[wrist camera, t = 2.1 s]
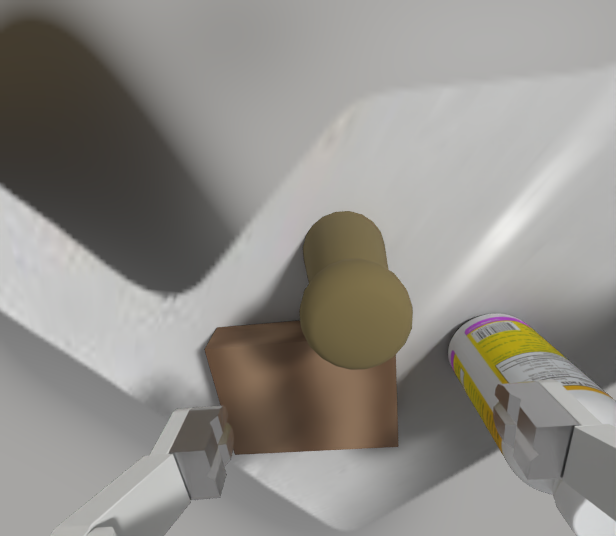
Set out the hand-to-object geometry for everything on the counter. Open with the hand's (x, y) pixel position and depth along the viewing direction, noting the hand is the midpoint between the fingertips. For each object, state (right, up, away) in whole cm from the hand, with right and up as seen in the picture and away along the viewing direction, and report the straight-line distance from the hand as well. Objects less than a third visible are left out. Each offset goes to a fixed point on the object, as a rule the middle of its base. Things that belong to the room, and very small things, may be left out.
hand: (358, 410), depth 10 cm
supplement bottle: (+13, -2, +16) cm, 21 cm away
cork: (+1, +6, +14) cm, 15 cm away
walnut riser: (-2, -5, +18) cm, 19 cm away
